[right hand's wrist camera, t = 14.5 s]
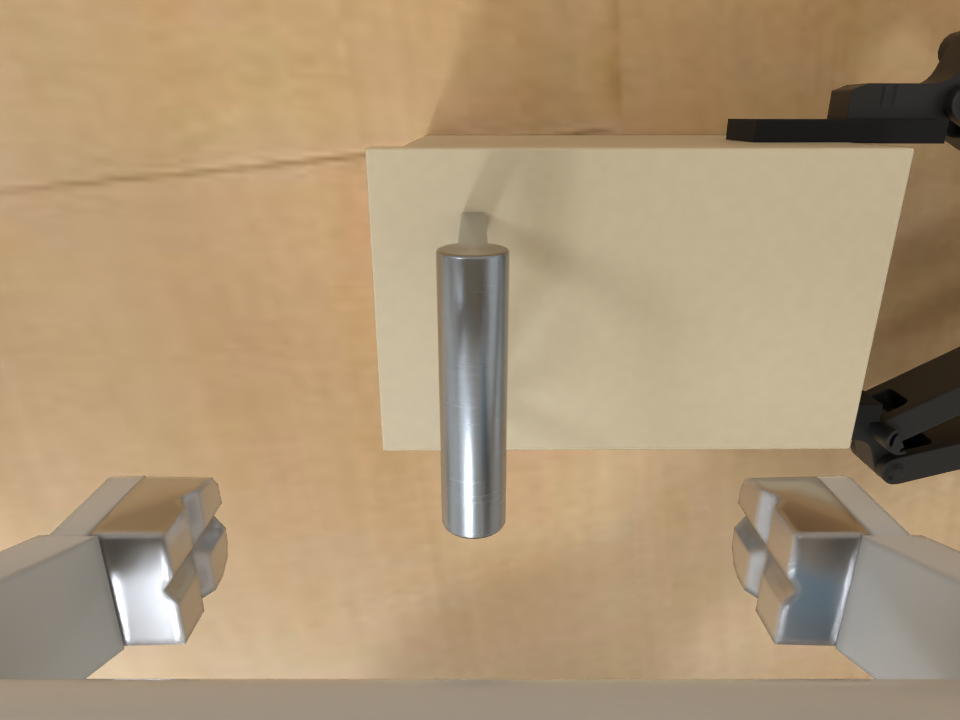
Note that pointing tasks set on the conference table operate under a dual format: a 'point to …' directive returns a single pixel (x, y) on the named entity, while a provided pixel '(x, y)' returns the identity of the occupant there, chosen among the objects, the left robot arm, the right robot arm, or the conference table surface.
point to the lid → (623, 300)
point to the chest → (597, 141)
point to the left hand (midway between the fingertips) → (721, 275)
